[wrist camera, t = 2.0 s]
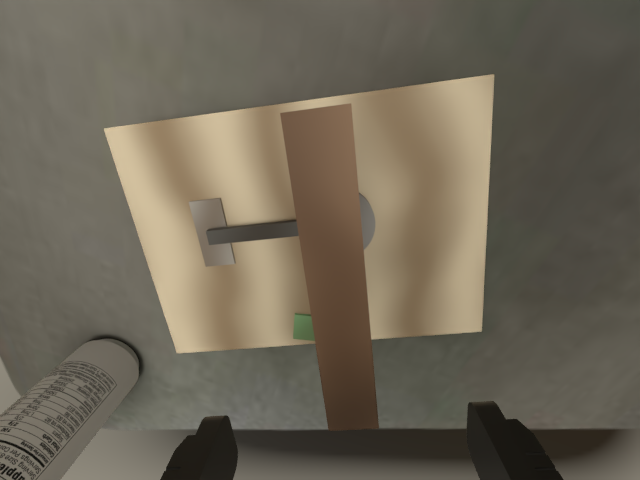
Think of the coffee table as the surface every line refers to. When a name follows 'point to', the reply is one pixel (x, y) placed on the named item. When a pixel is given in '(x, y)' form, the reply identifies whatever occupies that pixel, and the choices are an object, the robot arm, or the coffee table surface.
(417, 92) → the wooden lever base
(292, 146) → the peg key
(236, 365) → the coffee table surface
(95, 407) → the energy drink can
